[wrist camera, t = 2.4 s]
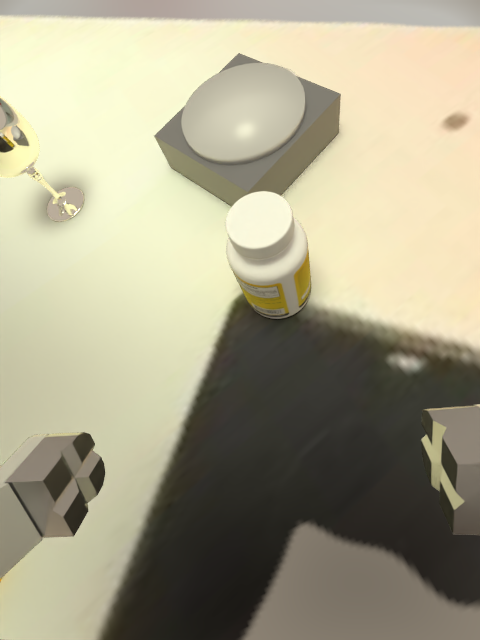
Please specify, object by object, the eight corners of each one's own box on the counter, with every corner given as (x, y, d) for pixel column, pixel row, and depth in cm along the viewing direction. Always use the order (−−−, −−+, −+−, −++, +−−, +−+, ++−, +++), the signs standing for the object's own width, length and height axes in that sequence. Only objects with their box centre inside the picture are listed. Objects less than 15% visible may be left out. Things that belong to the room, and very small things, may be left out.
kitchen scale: (170, 167, 37) (150, 128, 32) (250, 87, 38) (241, 40, 34) (256, 221, 32) (245, 185, 28) (342, 128, 34) (345, 80, 29)
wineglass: (76, 173, 39) (-19, 66, 28) (98, 203, 37) (5, 98, 26) (34, 205, 39) (-78, 108, 28) (54, 236, 37) (-60, 145, 26)
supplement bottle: (291, 250, 30) (279, 166, 21) (323, 300, 28) (325, 229, 19) (235, 280, 31) (200, 208, 22) (263, 332, 28) (237, 276, 19)
